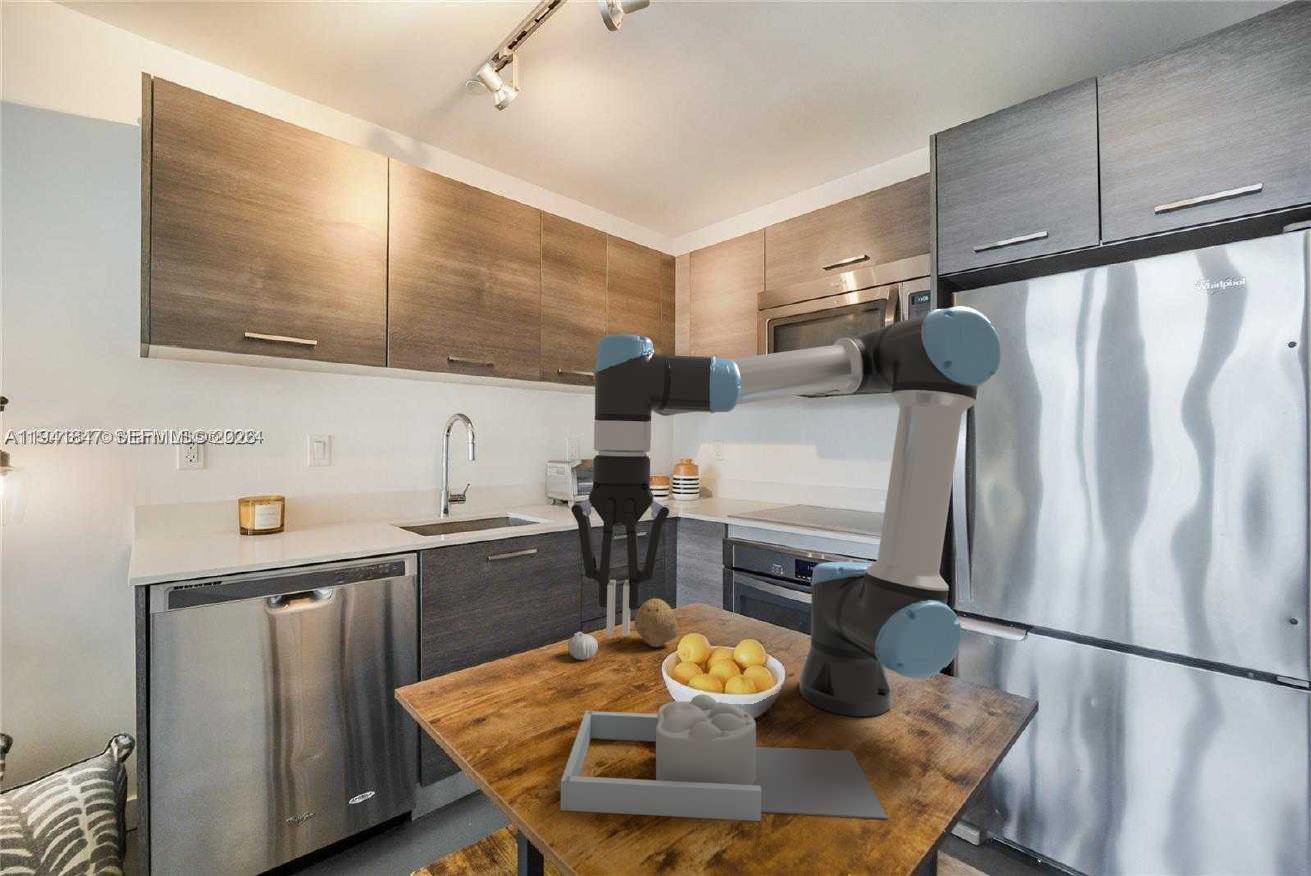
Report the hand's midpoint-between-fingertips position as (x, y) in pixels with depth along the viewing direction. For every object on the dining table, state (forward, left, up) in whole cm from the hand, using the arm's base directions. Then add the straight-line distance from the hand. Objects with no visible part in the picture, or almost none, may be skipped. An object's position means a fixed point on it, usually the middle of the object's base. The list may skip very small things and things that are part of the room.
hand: (618, 631), depth 75 cm
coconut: (-3, -45, -19) cm, 49 cm away
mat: (-24, 0, -18) cm, 31 cm away
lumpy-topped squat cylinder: (-12, 0, -19) cm, 22 cm away
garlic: (+11, -37, -19) cm, 43 cm away
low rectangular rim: (-6, 0, -18) cm, 20 cm away
